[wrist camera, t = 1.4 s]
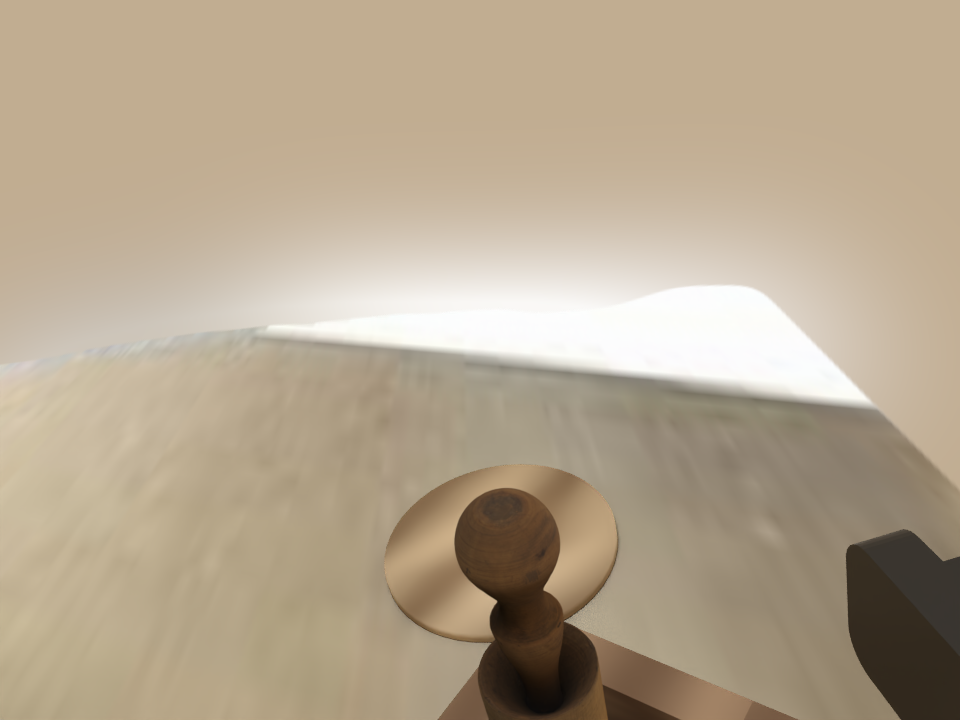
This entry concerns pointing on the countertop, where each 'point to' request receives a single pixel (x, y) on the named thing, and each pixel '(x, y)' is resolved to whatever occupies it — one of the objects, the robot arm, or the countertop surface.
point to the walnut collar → (639, 692)
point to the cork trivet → (438, 577)
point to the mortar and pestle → (526, 614)
